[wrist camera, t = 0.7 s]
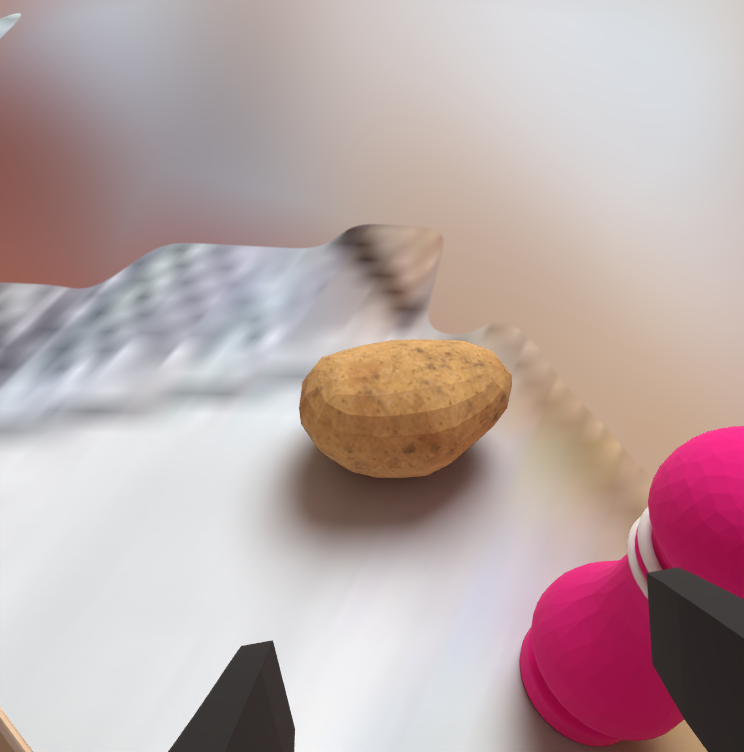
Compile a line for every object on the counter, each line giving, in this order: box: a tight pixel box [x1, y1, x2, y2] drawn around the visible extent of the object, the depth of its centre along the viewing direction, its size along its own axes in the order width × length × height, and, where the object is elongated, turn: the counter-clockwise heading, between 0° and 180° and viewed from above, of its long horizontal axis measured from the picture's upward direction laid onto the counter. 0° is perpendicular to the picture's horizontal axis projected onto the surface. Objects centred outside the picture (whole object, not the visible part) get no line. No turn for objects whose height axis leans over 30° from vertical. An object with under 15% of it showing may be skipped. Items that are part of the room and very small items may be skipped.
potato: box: [299, 340, 512, 478], centre depth 35 cm, size 10×14×8 cm
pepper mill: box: [520, 426, 744, 746], centre depth 21 cm, size 7×7×20 cm
